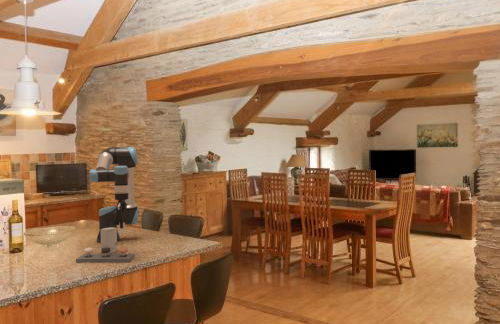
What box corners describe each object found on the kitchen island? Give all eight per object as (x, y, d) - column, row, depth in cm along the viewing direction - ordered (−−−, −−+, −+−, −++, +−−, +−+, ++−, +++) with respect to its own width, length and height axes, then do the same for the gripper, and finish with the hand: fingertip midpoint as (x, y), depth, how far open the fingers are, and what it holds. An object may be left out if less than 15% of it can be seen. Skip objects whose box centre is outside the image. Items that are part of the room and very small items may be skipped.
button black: (103, 256, 265) (103, 247, 265) (111, 255, 265) (111, 247, 265) (100, 258, 260) (100, 249, 260) (108, 258, 260) (108, 249, 260)
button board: (84, 257, 269) (83, 253, 269) (134, 256, 268) (134, 253, 268) (76, 262, 257) (75, 259, 257) (129, 262, 256) (129, 258, 256)
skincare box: (107, 254, 276) (106, 229, 275) (100, 253, 278) (99, 228, 278) (117, 251, 283) (117, 227, 282) (110, 250, 286) (110, 226, 285)
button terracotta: (120, 255, 265) (120, 247, 265) (128, 255, 265) (128, 247, 265) (118, 258, 260) (117, 249, 260) (126, 257, 260) (126, 249, 260)
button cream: (86, 256, 265) (85, 247, 265) (94, 256, 265) (94, 247, 265) (83, 258, 260) (82, 249, 260) (91, 258, 260) (91, 249, 260)
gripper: (118, 191, 268) (119, 231, 269) (111, 193, 255) (112, 235, 256) (131, 191, 268) (131, 231, 269) (124, 193, 255) (125, 235, 256)
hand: (122, 233), depth 262 cm, fingers closed
